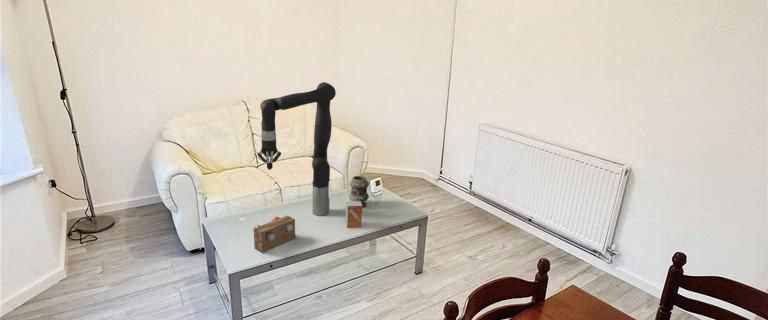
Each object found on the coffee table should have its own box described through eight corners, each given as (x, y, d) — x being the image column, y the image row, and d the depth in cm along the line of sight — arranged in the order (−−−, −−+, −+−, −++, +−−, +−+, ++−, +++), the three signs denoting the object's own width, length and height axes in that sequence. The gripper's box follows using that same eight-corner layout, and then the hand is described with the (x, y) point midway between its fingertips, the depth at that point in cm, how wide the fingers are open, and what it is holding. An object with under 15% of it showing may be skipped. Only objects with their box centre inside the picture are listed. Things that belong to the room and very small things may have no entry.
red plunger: (271, 225, 214) (271, 217, 212) (278, 222, 217) (278, 215, 216) (287, 233, 207) (286, 225, 205) (294, 230, 210) (293, 222, 209)
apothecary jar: (359, 199, 266) (361, 173, 261) (372, 206, 258) (373, 178, 253) (344, 204, 258) (345, 176, 253) (357, 210, 250) (358, 182, 245)
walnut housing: (254, 248, 202) (253, 228, 199) (287, 234, 218) (287, 215, 214) (262, 253, 199) (261, 232, 196) (295, 238, 214) (294, 219, 211)
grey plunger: (253, 234, 204) (253, 226, 202) (261, 231, 207) (260, 223, 206) (268, 243, 197) (268, 234, 195) (276, 240, 200) (276, 231, 199)
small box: (347, 228, 228) (347, 206, 224) (345, 222, 234) (346, 201, 230) (361, 227, 230) (362, 205, 226) (359, 222, 236) (360, 200, 232)
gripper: (256, 140, 215) (257, 172, 220) (282, 139, 220) (283, 170, 225) (255, 137, 222) (256, 167, 227) (280, 135, 227) (281, 166, 232)
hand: (269, 169), depth 226 cm, fingers closed
